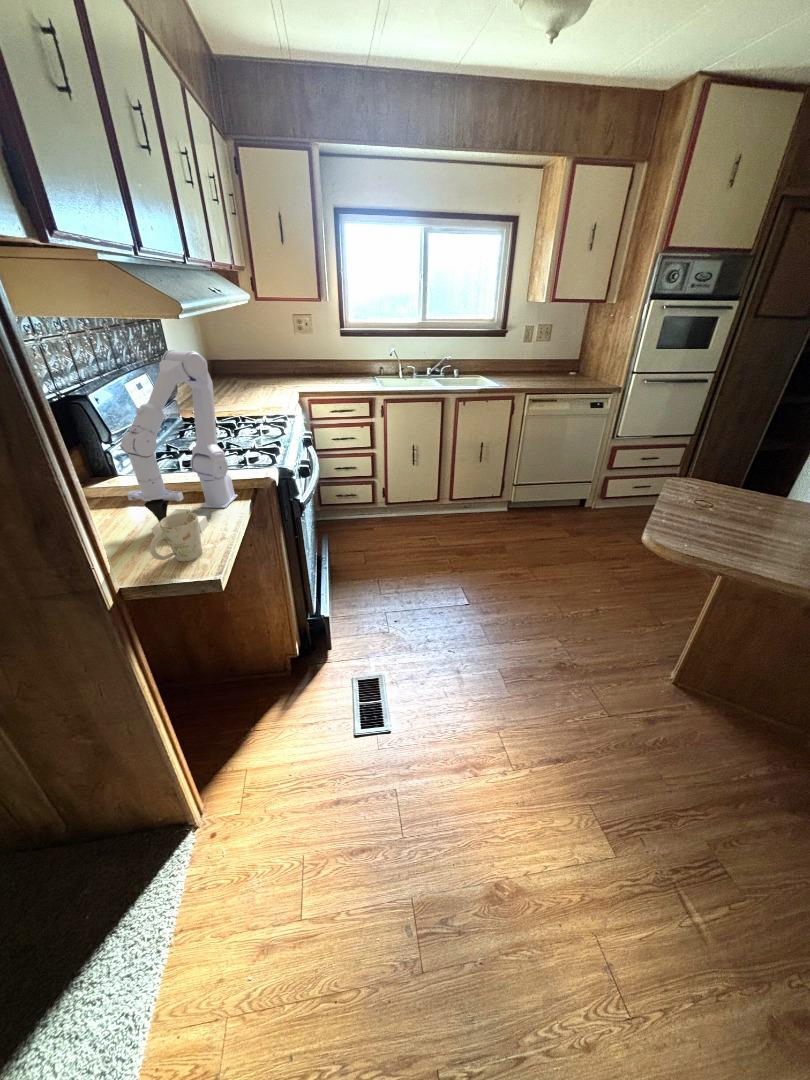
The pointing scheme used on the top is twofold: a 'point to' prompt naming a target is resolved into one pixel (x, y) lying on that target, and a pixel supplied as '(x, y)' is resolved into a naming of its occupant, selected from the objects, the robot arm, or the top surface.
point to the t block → (201, 519)
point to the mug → (179, 537)
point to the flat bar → (200, 514)
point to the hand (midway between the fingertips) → (164, 523)
